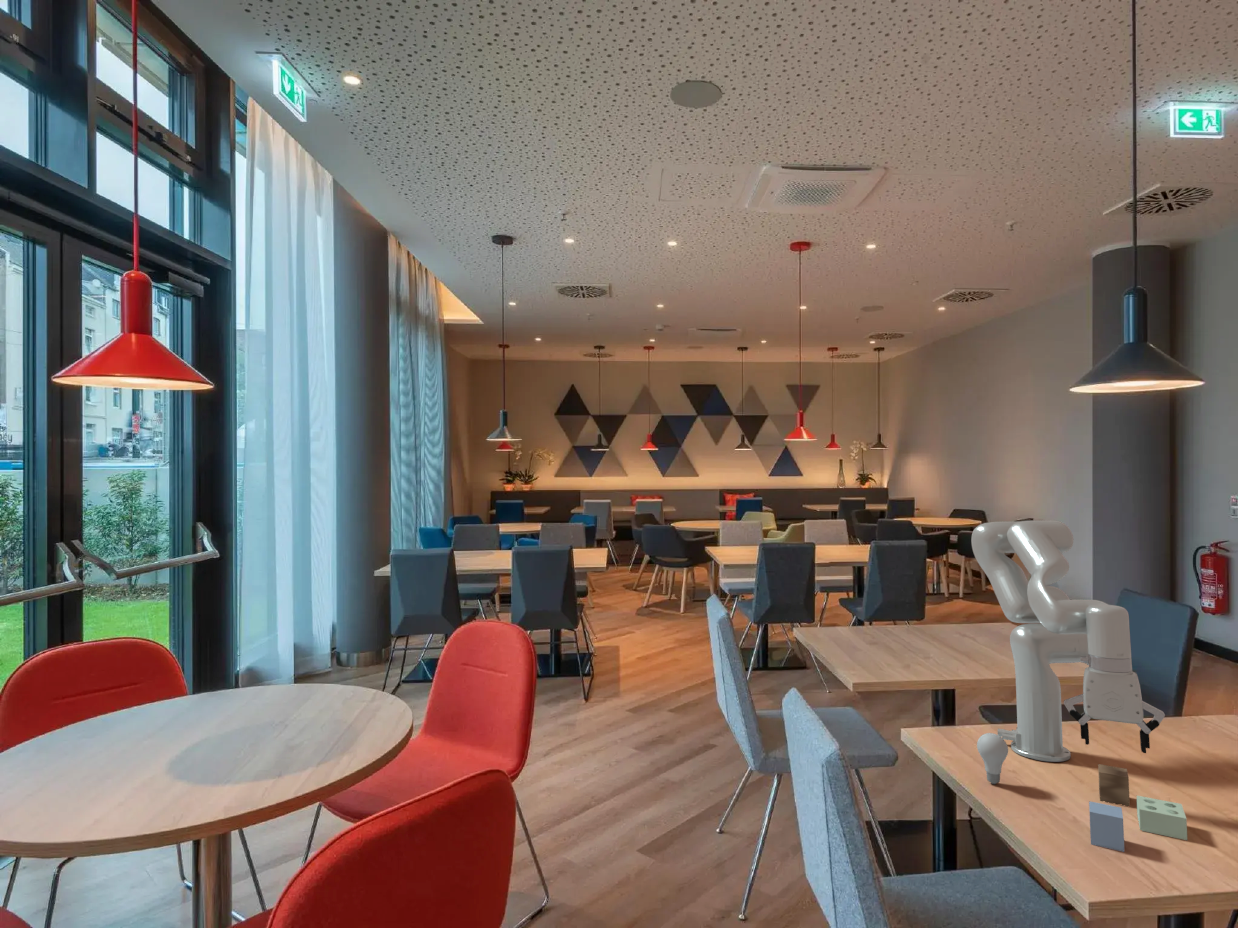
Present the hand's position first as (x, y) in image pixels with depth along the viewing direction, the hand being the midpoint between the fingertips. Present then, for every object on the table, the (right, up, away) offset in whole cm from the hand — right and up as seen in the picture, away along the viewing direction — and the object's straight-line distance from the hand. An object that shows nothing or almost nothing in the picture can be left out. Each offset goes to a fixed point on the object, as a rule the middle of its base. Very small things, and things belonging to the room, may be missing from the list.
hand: (1114, 746), depth 144 cm
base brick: (0, -11, -12) cm, 16 cm away
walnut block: (0, -11, 0) cm, 11 cm away
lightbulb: (-21, -12, +8) cm, 25 cm away
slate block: (-14, -11, -17) cm, 24 cm away
